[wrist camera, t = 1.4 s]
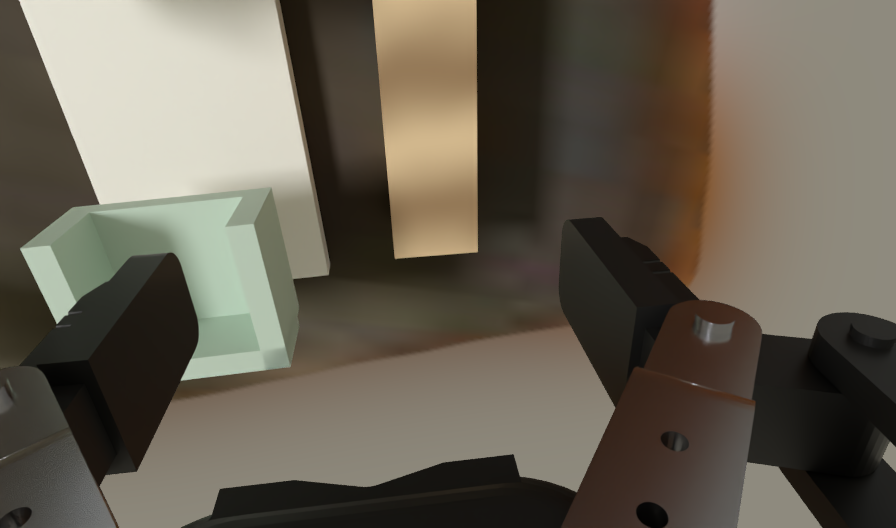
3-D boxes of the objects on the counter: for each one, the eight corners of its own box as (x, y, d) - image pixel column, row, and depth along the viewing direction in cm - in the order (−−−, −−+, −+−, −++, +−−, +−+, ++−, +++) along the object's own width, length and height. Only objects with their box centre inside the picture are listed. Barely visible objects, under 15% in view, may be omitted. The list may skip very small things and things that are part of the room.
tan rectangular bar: (358, -169, 22) (355, -198, 18) (457, -170, 22) (475, -199, 18) (392, 220, 30) (394, 258, 26) (464, 215, 30) (477, 251, 27)
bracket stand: (-47, -214, 20) (-315, -330, 12) (235, -228, 21) (150, -347, 13) (144, 285, 30) (64, 395, 22) (330, 264, 31) (314, 363, 23)
